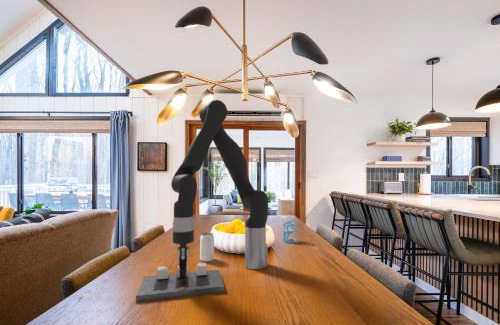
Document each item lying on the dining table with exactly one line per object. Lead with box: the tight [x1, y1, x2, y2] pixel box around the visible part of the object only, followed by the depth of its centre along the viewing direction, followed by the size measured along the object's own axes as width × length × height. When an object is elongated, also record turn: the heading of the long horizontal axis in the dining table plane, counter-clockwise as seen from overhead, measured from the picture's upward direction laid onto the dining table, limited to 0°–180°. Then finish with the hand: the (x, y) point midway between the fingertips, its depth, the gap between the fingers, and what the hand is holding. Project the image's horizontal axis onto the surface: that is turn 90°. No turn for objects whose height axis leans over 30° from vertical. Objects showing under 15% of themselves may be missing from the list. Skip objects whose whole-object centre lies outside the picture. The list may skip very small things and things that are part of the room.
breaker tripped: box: [176, 264, 189, 277], centre depth 95 cm, size 4×2×4 cm, turn 104°
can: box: [199, 232, 215, 263], centre depth 121 cm, size 6×6×12 cm
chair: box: [282, 221, 300, 244], centre depth 154 cm, size 8×8×12 cm
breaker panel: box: [135, 269, 225, 303], centre depth 91 cm, size 28×16×2 cm, turn 104°
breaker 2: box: [196, 262, 208, 276], centre depth 97 cm, size 4×2×4 cm, turn 104°
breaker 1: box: [156, 265, 169, 279], centre depth 94 cm, size 4×2×4 cm, turn 104°
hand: (182, 277), depth 92 cm, fingers closed
